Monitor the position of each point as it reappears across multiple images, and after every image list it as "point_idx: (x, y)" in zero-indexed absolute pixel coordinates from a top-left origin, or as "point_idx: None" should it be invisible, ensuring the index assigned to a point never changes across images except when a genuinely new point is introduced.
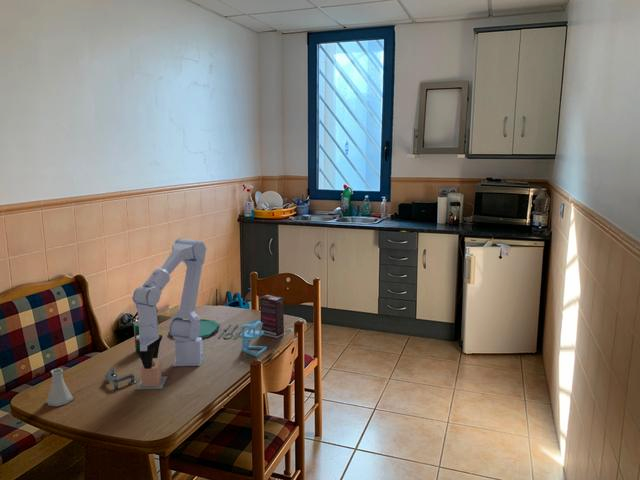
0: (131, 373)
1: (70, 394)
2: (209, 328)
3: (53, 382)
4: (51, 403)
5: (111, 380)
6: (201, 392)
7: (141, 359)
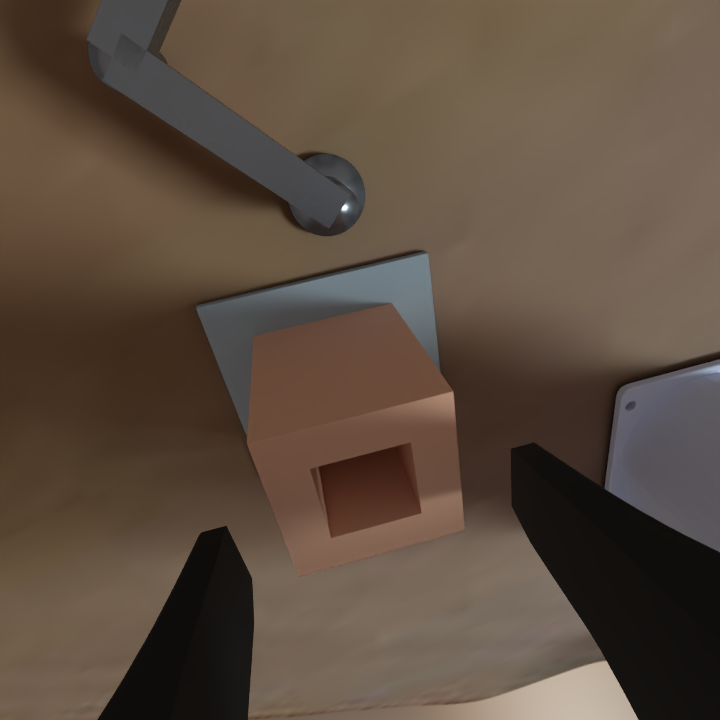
0: (347, 197)
1: None
2: None
3: None
4: None
5: None
6: (274, 658)
7: (110, 703)
